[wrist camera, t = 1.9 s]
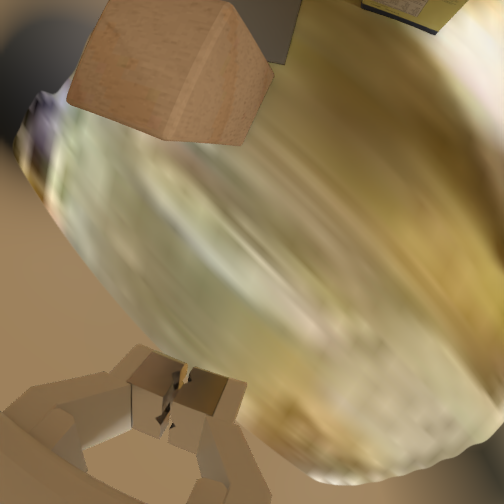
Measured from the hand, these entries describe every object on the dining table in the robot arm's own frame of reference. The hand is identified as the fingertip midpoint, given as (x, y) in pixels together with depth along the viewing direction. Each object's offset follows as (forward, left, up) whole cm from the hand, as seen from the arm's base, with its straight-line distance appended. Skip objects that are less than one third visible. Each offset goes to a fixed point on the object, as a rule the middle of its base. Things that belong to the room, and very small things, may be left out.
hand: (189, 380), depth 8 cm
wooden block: (+11, -12, -31) cm, 35 cm away
